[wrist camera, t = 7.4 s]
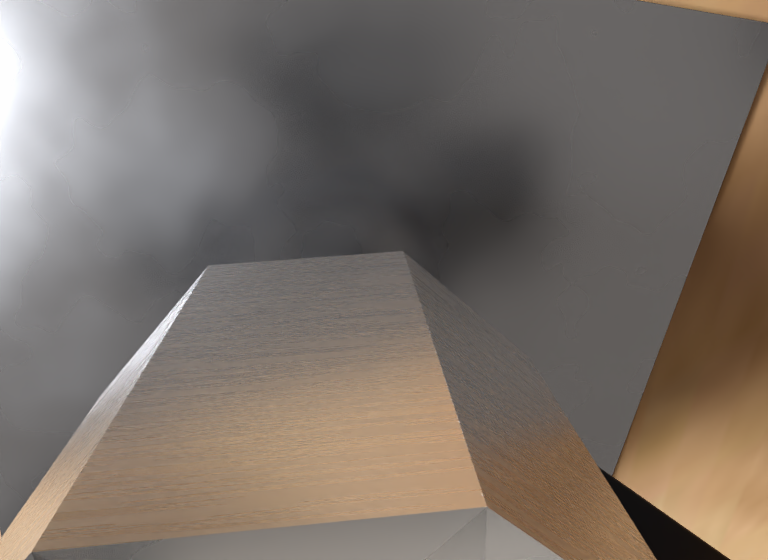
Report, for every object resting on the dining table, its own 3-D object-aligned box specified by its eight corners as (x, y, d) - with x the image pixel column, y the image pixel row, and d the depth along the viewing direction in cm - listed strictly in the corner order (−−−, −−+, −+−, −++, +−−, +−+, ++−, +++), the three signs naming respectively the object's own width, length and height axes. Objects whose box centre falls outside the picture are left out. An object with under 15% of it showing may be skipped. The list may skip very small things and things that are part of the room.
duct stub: (559, 577, 17) (622, 725, 13) (20, 560, 15) (-85, 729, 11) (759, 26, 11) (975, 12, 7) (-90, -118, 9) (-390, -238, 5)
